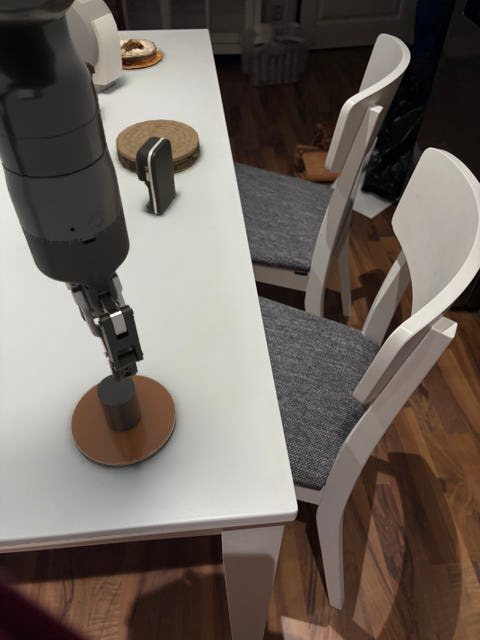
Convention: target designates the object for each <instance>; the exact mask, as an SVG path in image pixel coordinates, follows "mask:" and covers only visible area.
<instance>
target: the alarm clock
mask: <svg viewBox="0 0 480 640" xmlns="http://www.w3.org/2000/svg"><path fill="white" fill-rule="evenodd" d="M65 14H66V18H67V22H68V27H69V31H70V34H71V37H72V40H73V42H74V44H75V47H76V48H77V50H78V52H79V54H80V55H81V57H82V59H83V60H84V62H88V63H90V64H91V65H93V66H94V69H95V74H92V75H93V78H92V79H93V82H94V86H95V88H96V89H97V93H101V92H102V91H104V90H106V89H108V88H109V87H111V86H113V85H114V81H116V80H118V79H120V78H121V77H123V69H122V57H121V46H120V40H121V39H120V35H119V29H118V26H117V23H116V20H115V18H114V16H113V12H112V11H111V9H110V7H109V6H108V5H107V3H106V2H105V1H104V0H75V1H74V3H73V5H72V6H71V8H70V9H69V10H68V11H67V12H66V13H65Z"/></svg>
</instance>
